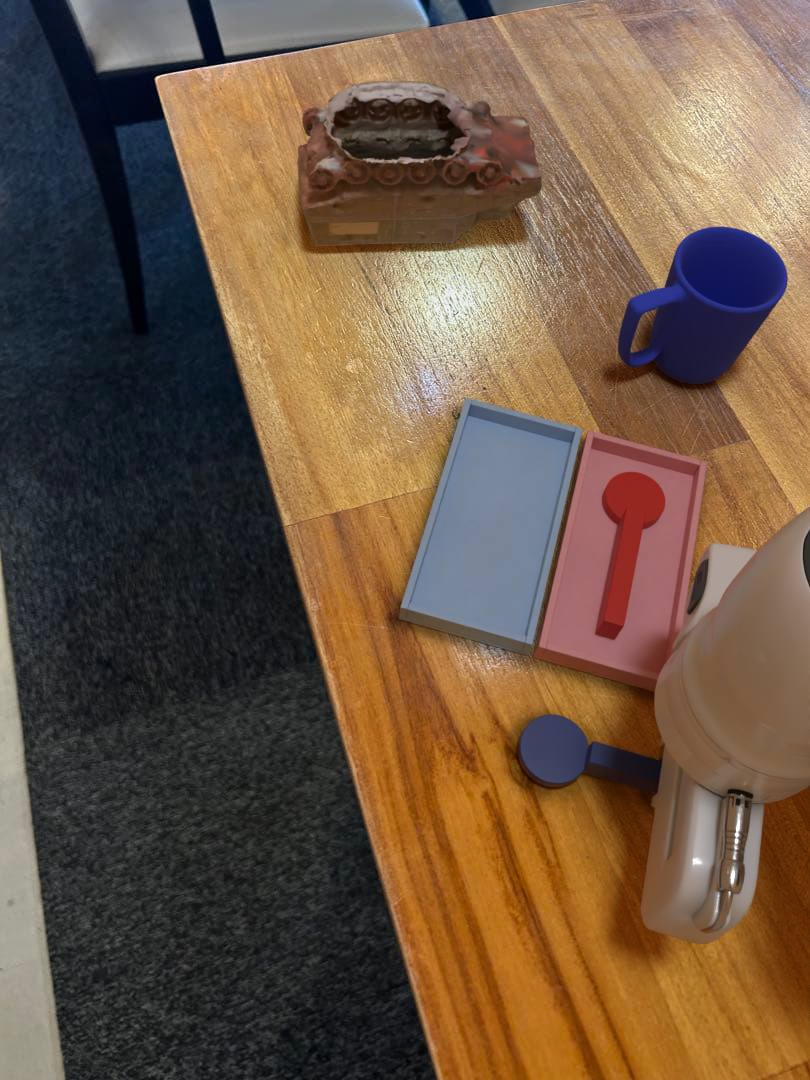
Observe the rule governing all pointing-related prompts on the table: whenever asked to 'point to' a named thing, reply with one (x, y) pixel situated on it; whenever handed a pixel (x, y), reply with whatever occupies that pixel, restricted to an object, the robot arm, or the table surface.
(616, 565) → the red spoon
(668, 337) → the mug
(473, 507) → the blue tray
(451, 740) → the table surface
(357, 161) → the decorative box
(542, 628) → the pink tray
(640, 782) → the blue spoon
